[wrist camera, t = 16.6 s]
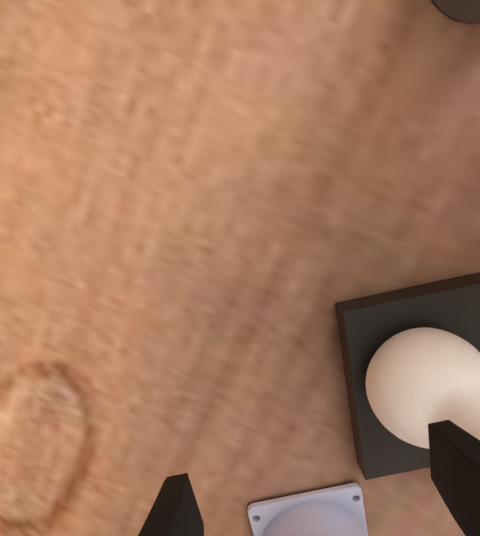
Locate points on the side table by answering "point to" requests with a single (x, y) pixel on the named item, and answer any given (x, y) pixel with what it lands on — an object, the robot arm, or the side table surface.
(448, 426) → the robot arm
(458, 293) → the scale
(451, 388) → the garlic bulb
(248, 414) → the side table surface
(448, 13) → the bottle
